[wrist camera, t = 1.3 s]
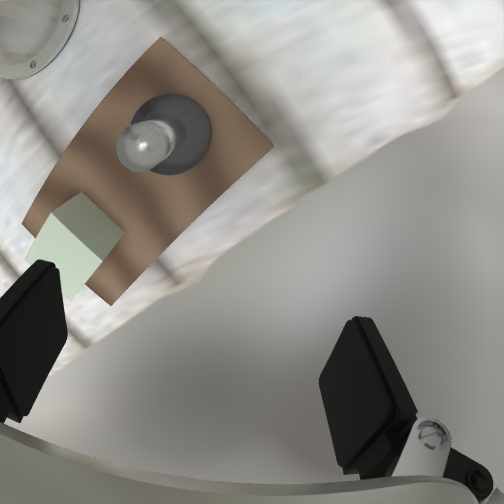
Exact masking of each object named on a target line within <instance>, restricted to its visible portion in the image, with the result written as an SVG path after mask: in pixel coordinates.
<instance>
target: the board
mask: <svg viewBox="0 0 504 504" xmlns="http://www.w3.org/2000/svg"><path fill="white" fill-rule="evenodd" d="M273 147H274V145H273V144H272V143H271V142H270V141H269V140H268V139H267V137H266V136H265V135H264V134H263V133H262V132H261V131H260V130H259V129H258V128H257V127H256V126H255V125H254V124H253V123H252V122H251V121H250V120H249V119H248V118H247V117H246V116H245V115H244V114H243V113H242V112H241V111H240V110H239V109H238V108H237V107H236V106H235V105H234V104H233V103H232V102H231V101H230V100H229V99H228V98H227V97H226V96H225V95H224V94H223V93H222V92H221V91H220V90H219V89H218V88H217V87H216V86H215V85H214V84H213V83H212V82H211V81H210V80H208V79H207V78H206V77H205V76H204V75H203V74H202V73H201V72H200V71H199V70H198V69H197V68H196V67H195V66H193V65H192V64H191V63H190V62H189V61H188V60H187V59H186V58H185V57H184V56H182V55H181V54H180V53H179V52H178V51H177V50H176V49H175V48H173V47H172V46H171V45H170V44H169V43H168V42H167V41H165V40H164V39H163V38H162V37H160V38H159V39H158V40H157V41H156V42H155V43H154V44H153V45H152V46H151V47H150V48H149V49H148V50H147V51H146V52H145V53H144V54H143V55H142V56H141V57H140V58H139V59H138V60H137V61H136V62H135V64H134V65H133V66H132V67H131V68H130V69H129V70H128V71H127V72H126V73H125V74H124V76H123V77H122V78H121V79H120V80H119V81H118V82H117V84H116V85H115V86H114V87H113V88H112V89H111V91H110V92H109V93H108V94H107V95H106V97H105V98H104V99H103V100H102V101H101V103H100V104H99V105H98V106H97V108H96V109H95V110H94V112H93V113H92V114H91V115H90V117H89V118H88V119H87V121H86V122H85V123H84V125H83V126H82V127H81V129H80V130H79V131H78V133H77V134H76V136H75V137H74V138H73V140H72V141H71V143H70V144H69V146H68V147H67V148H66V150H65V151H64V153H63V154H62V156H61V157H60V159H59V160H58V162H57V164H56V165H55V167H54V168H53V170H52V171H51V173H50V175H49V176H48V178H47V179H46V181H45V183H44V184H43V186H42V188H41V189H40V191H39V193H38V195H37V196H36V198H35V200H34V202H33V203H32V205H31V207H30V209H29V211H28V212H27V214H26V216H25V218H24V220H23V222H22V225H23V226H24V227H25V228H26V229H27V230H28V231H29V232H30V233H31V234H32V235H33V236H34V237H35V238H36V237H37V235H38V234H39V232H40V230H41V228H42V227H43V225H44V223H45V222H46V220H47V218H48V217H49V215H50V213H51V212H53V211H54V210H55V209H57V208H58V207H60V206H61V205H63V204H64V203H66V202H67V201H68V200H70V199H71V198H73V197H74V196H76V195H77V194H79V193H81V192H83V193H84V194H85V195H86V196H87V197H88V198H89V199H90V200H91V201H92V202H93V203H94V204H95V205H96V206H97V207H98V208H99V209H101V210H102V211H103V212H104V213H105V214H106V215H107V216H108V217H109V218H110V219H111V220H112V221H113V222H114V223H116V224H117V225H118V226H119V227H120V228H121V229H122V230H123V231H124V232H125V234H124V235H123V236H122V237H121V239H120V240H119V241H118V242H117V244H116V245H115V246H114V247H113V249H112V250H111V251H110V252H109V254H108V255H107V256H106V258H105V259H104V260H103V262H102V263H101V264H100V265H99V266H98V268H97V269H96V270H95V271H94V273H93V274H92V275H91V276H90V278H89V279H88V280H87V282H86V283H85V285H86V286H88V287H89V288H90V289H91V290H92V291H93V292H95V293H96V294H97V295H98V296H99V297H101V298H102V299H103V300H104V301H105V302H107V303H108V304H109V305H110V306H112V305H113V304H114V303H115V301H116V300H117V299H118V298H119V297H120V296H121V295H122V294H123V293H124V292H125V291H126V290H127V289H128V288H129V286H130V285H131V284H132V283H133V282H134V281H135V280H136V279H137V278H138V277H139V276H140V275H141V274H142V273H143V272H144V271H145V270H146V269H147V268H148V267H149V266H150V265H151V264H152V262H153V261H154V260H155V259H156V258H157V257H158V256H159V255H160V254H161V253H162V252H163V251H164V250H165V249H166V248H167V247H168V246H169V245H170V244H171V243H172V242H173V241H174V240H175V239H176V238H177V237H178V236H179V235H180V234H181V233H182V232H183V231H184V230H185V229H186V228H187V227H188V226H189V225H190V224H191V223H192V222H193V221H195V220H196V219H197V218H198V217H199V216H200V215H201V214H202V213H203V212H204V211H205V210H206V209H207V208H208V207H209V206H210V205H211V204H212V203H213V202H214V201H215V200H216V199H217V198H218V197H220V196H221V195H222V194H223V193H224V192H225V191H226V190H227V189H228V188H229V187H230V186H231V185H232V184H233V183H235V182H236V181H237V180H238V179H239V178H240V177H241V176H242V175H243V174H244V173H245V172H246V171H248V170H249V169H250V168H251V167H252V166H253V165H254V164H255V163H256V162H257V161H259V160H260V159H261V158H262V157H263V156H264V155H265V154H266V153H267V152H269V151H270V150H271V149H272V148H273Z"/></svg>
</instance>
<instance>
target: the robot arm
mask: <svg viewBox="0 0 504 504" xmlns="http://www.w3.org/2000/svg"><path fill="white" fill-rule="evenodd" d="M78 9H79V0H0V77H2V78H4V79H23V78H26V77H29V76H31V75H33V74H35V73H37V72H39V71H40V70H42V69H43V68H44V67H46V66H47V65H48V64H49V63H50V62H51V61H52V60H53V59H54V58H55V57H56V56H57V54H58V53H59V52H60V51H61V49H62V48H63V46H64V45H65V43H66V42H67V40H68V38H69V36H70V34H71V32H72V30H73V28H74V25H75V22H76V19H77V15H78ZM67 336H68V332H67V325H66V319H65V312H64V305H63V297H62V289H61V279H60V271H59V269H58V268H56V265H55V263H53V262H50V261H45V260H41V259H38V260H36V261H35V262H34V263H33V264H32V265H31V266H30V267H29V268H28V269H27V270H26V271H25V272H24V273H23V274H22V275H21V276H20V278H19V279H18V280H17V281H16V282H15V283H14V284H13V285H12V286H11V287H10V288H9V289H8V290H7V291H6V292H5V294H4V295H3V296H2V297H1V298H0V504H504V494H503V493H502V492H501V491H500V490H499V489H498V488H495V489H494V490H493V480H492V476H491V474H490V472H489V471H488V470H487V469H486V468H485V467H484V466H482V465H481V464H479V463H477V462H475V461H474V460H472V459H470V458H468V457H467V456H465V455H463V454H461V453H459V452H458V451H456V450H455V449H453V448H451V440H452V439H451V435H450V432H449V430H448V429H447V427H446V426H445V425H444V424H443V423H442V422H440V421H439V420H437V419H435V418H432V417H421V418H419V419H417V417H416V415H415V414H416V413H417V412H418V411H417V409H416V407H415V404H414V402H413V400H412V398H411V396H410V394H409V391H408V389H407V387H406V385H405V383H404V381H403V379H402V377H401V375H400V373H399V371H398V369H397V367H396V365H395V362H394V360H393V358H392V356H391V354H390V353H389V351H388V349H387V347H386V345H385V343H384V341H383V339H382V337H381V335H380V333H379V331H378V329H377V327H376V325H375V324H374V321H373V320H372V319H371V318H367V317H358V316H355V317H353V318H352V320H348V321H347V322H346V324H345V326H344V328H343V331H342V333H341V335H340V337H339V339H338V341H337V343H336V345H335V347H334V349H333V351H332V353H331V355H330V357H329V359H328V361H327V363H326V365H325V367H324V369H323V371H322V373H321V375H320V378H319V387H320V391H321V396H322V400H323V404H324V408H325V412H326V416H327V420H328V424H329V429H330V433H331V437H332V442H333V446H334V451H335V454H336V459H337V463H338V465H339V466H340V467H342V468H343V473H344V475H347V474H357V473H359V475H360V480H357V481H345V482H330V483H313V484H254V483H253V484H252V483H236V482H224V481H213V480H203V479H196V478H188V477H181V476H175V475H169V474H163V473H158V472H152V471H147V470H143V469H138V468H133V467H129V466H124V465H120V464H117V463H113V462H109V461H105V460H102V459H98V458H95V457H91V456H88V455H84V454H81V453H78V452H75V451H72V450H69V449H66V448H63V447H60V446H58V445H55V444H52V443H49V442H46V441H44V440H42V439H39V438H36V437H34V436H32V435H29V434H26V433H24V432H22V431H19V430H17V429H15V428H12V427H10V426H8V425H6V424H4V422H5V420H6V418H9V419H11V420H14V421H16V422H18V423H21V421H22V418H23V416H27V415H28V414H29V413H30V410H31V408H32V406H33V404H34V402H35V400H36V398H37V396H38V394H39V392H40V390H41V388H42V386H43V383H44V382H45V380H46V378H47V376H48V374H49V372H50V370H51V369H52V367H53V365H54V363H55V361H56V359H57V357H58V356H59V354H60V352H61V350H62V348H63V346H64V345H65V343H66V340H67Z"/></svg>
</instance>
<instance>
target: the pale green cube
mask: <svg viewBox="0 0 504 504" xmlns="http://www.w3.org/2000/svg"><path fill="white" fill-rule="evenodd" d="M124 234H125V232H124V231H123V230H122V229H121V228H120V227H119V226H118V225H117V224H116V223H114V222H113V221H112V220H111V219H110V218H109V217H108V216H107V215H106V214H105V213H104V212H103V211H102V210H101V209H99V208H98V207H97V206H96V205H95V204H94V203H93V202H92V201H91V200H90V199H89V198H88V197H87V196H86V195H85V194H84V193H83V192H81V193H79V194H77V195H76V196H74V197H73V198H71V199H70V200H68V201H67V202H66V203H64V204H63V205H61V206H60V207H58V208H57V209H55V210H54V211H53V212H51V213H50V215H49V217H48V218H47V220H46V222H45V223H44V225H43V227H42V228H41V230H40V232H39V234H38V235H37V237H36V239H35V241H34V242H33V244H32V246H31V248H30V250H29V252H28V253H27V255H26V257H25V259H26V260H27V261H28V262H29V263H30V264H31V265H32V264H33V263H34V262H35V261H36V260H38V259H41V260H45V261H50V262H53V263H55V265H56V268H58V269H59V271H60V279H61V289H62V294H63V295H64V296H65V297H67V298H68V299H69V300H70V301H72V300H73V299H74V297H75V296H76V295H77V293H78V292H79V291H80V289H81V288H82V287H83V285H84V284H85V283H86V282H87V280H88V279H89V278H90V276H91V275H92V274H93V273H94V271H95V270H96V269H97V268H98V266H99V265H100V264H101V263H102V262H103V260H104V259H105V258H106V256H107V255H108V254H109V252H110V251H111V250H112V249H113V247H114V246H115V245H116V244H117V242H118V241H119V240H120V239H121V237H122V236H123V235H124Z"/></svg>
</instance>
